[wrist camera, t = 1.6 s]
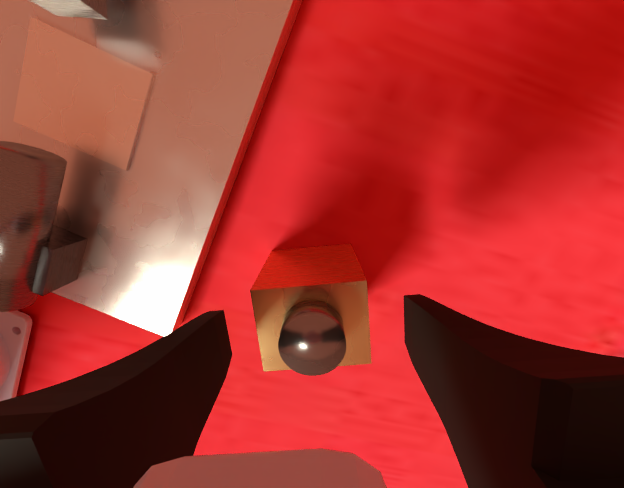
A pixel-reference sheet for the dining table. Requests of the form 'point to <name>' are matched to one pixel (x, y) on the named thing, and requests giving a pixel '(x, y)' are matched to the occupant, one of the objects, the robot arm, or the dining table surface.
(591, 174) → the dining table surface
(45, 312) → the dining table surface
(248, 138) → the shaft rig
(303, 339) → the tan block with knob
